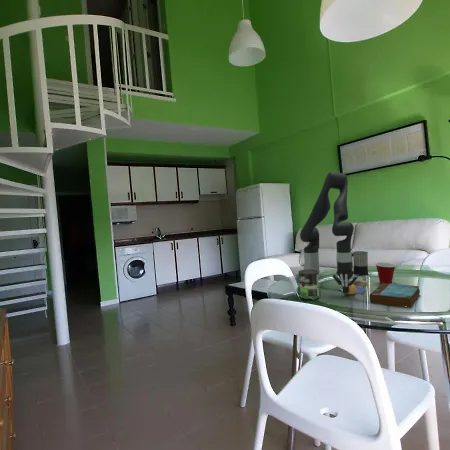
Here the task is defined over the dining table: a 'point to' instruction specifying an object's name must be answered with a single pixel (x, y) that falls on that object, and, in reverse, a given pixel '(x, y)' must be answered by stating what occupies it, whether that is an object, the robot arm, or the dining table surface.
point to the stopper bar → (359, 283)
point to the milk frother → (360, 263)
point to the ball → (352, 289)
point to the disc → (359, 290)
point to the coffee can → (309, 282)
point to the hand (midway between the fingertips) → (345, 293)
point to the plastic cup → (385, 272)
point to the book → (395, 294)
